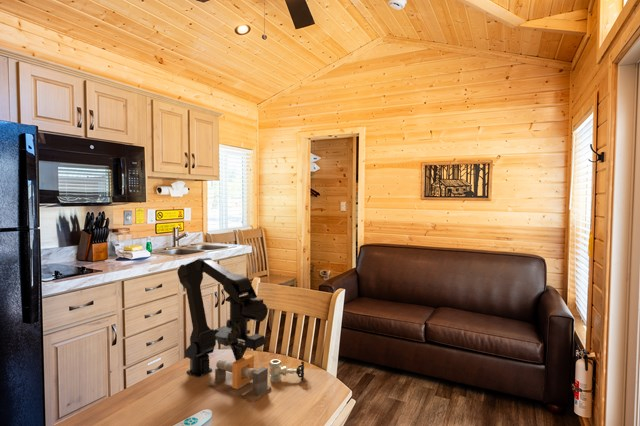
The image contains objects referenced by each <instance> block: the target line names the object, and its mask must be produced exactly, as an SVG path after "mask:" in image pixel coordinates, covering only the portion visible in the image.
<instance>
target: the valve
mask: <svg viewBox="0 0 640 426" xmlns="http://www.w3.org/2000/svg"><path fill="white" fill-rule="evenodd" d="M269 366H270V367H269V369H268V370H269V373H268V374H269V380H270V382H271V383H279V382H280V381H281V380H282V376H283V377H285V376H287V375H288V374H291V375H292V374H295V373H296V375H297V377H298V378H300V381H301V382H304V380H305V377H304V376H305V361H302V360H301V363H300V364H299V365H298V366H297V367H296V369H294V368H293V367H290V368H288V367H287V366H285V365H284V366H282V361H281V360H280V359H271V360H270V361H269Z"/></svg>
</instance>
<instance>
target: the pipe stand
mask: <svg viewBox="0 0 640 426" xmlns="http://www.w3.org/2000/svg"><path fill="white" fill-rule="evenodd" d="M215 365H216V367H215V369H214V371H215V372H214V378H213V379H211V380H209V381H207V383H206V386H208V387H210V388H214V389H215V390H219V391H222V392H225V393H227V394H230V395H232V396H234V397H235V396H236V397H237V398H240V399H243V400H246V401H248V402H252V403H254V402H256V401H257V400H259V399H260V398H262V397H263V396H264V395H266V394H268V393H269V392H271V391H272V386H269V385H268V382H269V381H268V376H269V373H268V370H269V369H268V367H266V366H261V367H260V368H258V369H255V368H254V369H253V368H248V367H243V368H241V376H243V377H246V378H248V379H251V381H250V382H248V383H246V384H245V385H243V386H241V387H240V388H238V389H235V388H233V387H232V367H233V362H232V361H229V360H226V359H222V358H220V359H218V360H217V361H216V363H215ZM252 379H253V380H252Z"/></svg>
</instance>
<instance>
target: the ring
mask: <svg viewBox="0 0 640 426" xmlns="http://www.w3.org/2000/svg"><path fill="white" fill-rule="evenodd" d="M232 363H233V367H232V373H231V374H232V387H233V388H235V389H238V388H240V387H241V386H243V385H245V384H246V383H248V382H250V381H251V379H248V378H246V377H243V376H241V368H243V367H248V368H253V369H255V355H253V354H249V353H248V354H247V355H245V356H243V358H241V359H239V360H237V361H236V360H235V361H234V362H232ZM252 381H253V379H252Z"/></svg>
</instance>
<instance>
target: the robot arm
mask: <svg viewBox="0 0 640 426" xmlns="http://www.w3.org/2000/svg"><path fill="white" fill-rule="evenodd" d="M178 267H179V268H178V269H177V272H176V273H177V277H178V280H179V282H180V285H182V287H184V289H185V291H186V297H187V302H188V308H189V313H190V319H191V320H190V321H191V325H192V331H191V334H190V336H189V342H190V343H189V346H188V347H187V348H186V349H185V350H184V355H185V358H187V359H189V370H186V374H189V375H192V376H193V377H196V378H197V377H198V378H199V377H201V376H202V377H203V376H204V375H206V374H208V373H210V372H212V370H213V368H210V355H209V354H213V353H214V350H215V347H216V345H217V344H218V345H223V346H225V347H227V346H228V347H230V348H231V351H232V354H233V356H234V359H235V361H237V360H239V359H241V358H243V357H244V355H245V352H247V349H251V350H257V349H258V348H260V347H262V346H265V345H266V343H267V342H266V337H265V336H264V335H262V334H258V333H254V334H251V335H249V334H250V333H251V330H250V329H248V322H250V321H251V320H252V321H255V322H263V321H265V319H266V318H267V316H268V311H269V309H268V306H267V305H266V304H265V303H264V299H261V298H258V294H257V293H256V291H255V289H254V287H253V285H252V282H251V280H250V278H248V277H247V276H244V275H242V274H239V273H238V274H237V273H234V272H231V271H229V270H228V269H226V268H225V267H223V266H221V265H220V264H219V263H217V262H215V261H214V260H213V259H212V258H211V257H208V256H206V257H199V258H197V259H195V260H193V261H191V262H188V263H184V264H180V265H179V266H178ZM203 273H205V274H206V275H208V276H209V277H211V278H212V279H213V280H215V281H217V283H219V284H221V285H222V287H223V288H222V289H223V290H224V292H226V294H227V297H226V298H225V300H224V301H226V302H229V318H228V319H227V320H226V326H225V325H224V326H221V327H218V328H216V329H212V328H211V327H209V325H208V322H207V316H206V310H205V305H204V301H203V300H204V299H203V294H202V293H203V292H202V289H201V288H202V287H201V285H202V282H203V280H204V274H203ZM216 342H217V343H216Z"/></svg>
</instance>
